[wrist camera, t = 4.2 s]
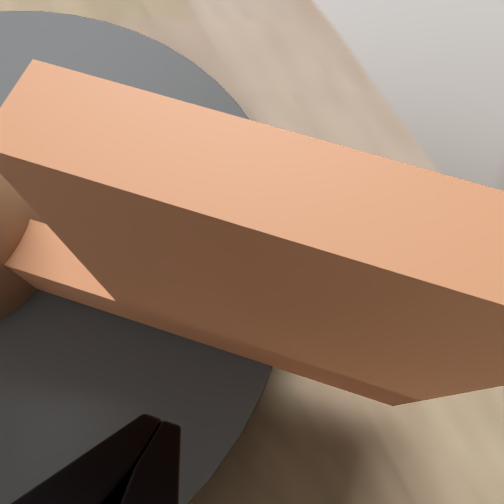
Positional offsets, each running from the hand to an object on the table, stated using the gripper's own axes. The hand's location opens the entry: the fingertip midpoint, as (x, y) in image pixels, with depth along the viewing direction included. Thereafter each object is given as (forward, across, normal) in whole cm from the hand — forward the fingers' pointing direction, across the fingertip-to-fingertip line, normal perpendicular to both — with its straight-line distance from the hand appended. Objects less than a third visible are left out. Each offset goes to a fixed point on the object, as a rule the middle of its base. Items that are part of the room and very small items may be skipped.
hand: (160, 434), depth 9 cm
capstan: (+6, +4, +1) cm, 7 cm away
